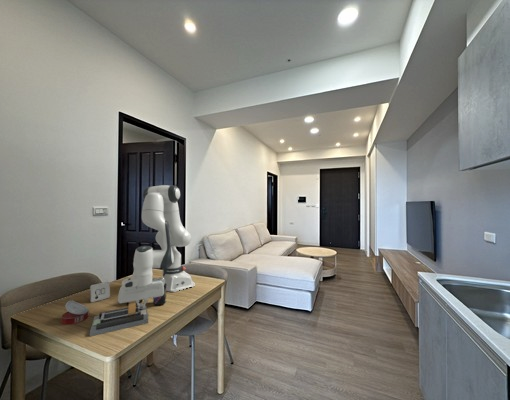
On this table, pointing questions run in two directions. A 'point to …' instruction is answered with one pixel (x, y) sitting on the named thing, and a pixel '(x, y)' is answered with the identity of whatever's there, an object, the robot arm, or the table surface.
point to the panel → (117, 327)
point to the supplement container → (160, 298)
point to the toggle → (132, 307)
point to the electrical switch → (100, 291)
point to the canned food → (74, 313)
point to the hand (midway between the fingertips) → (141, 308)
